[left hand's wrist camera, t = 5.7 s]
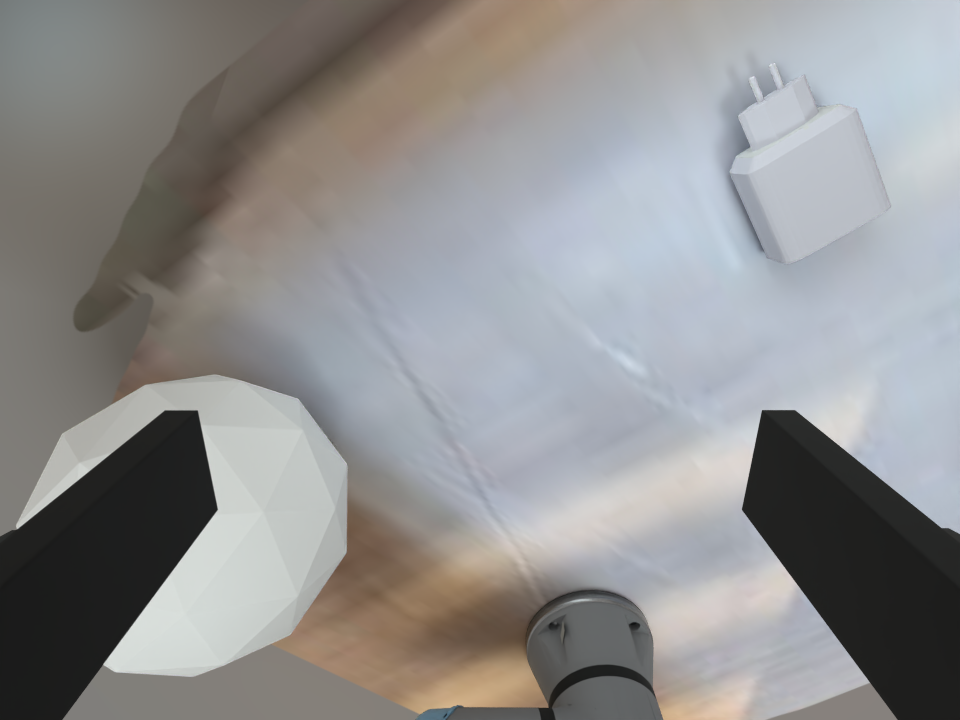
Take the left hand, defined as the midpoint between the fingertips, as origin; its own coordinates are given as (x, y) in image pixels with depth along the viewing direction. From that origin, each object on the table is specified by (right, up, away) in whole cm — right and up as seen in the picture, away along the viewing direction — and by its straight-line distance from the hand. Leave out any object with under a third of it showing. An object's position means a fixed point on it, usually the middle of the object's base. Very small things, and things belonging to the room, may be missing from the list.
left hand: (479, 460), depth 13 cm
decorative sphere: (-24, -7, +45) cm, 51 cm away
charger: (+26, +20, +35) cm, 48 cm away
